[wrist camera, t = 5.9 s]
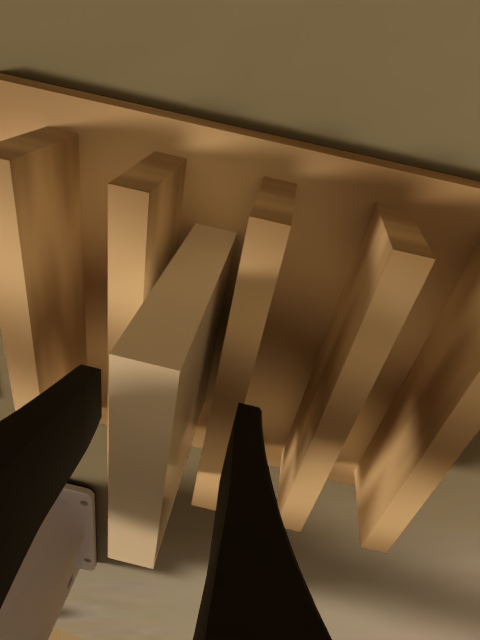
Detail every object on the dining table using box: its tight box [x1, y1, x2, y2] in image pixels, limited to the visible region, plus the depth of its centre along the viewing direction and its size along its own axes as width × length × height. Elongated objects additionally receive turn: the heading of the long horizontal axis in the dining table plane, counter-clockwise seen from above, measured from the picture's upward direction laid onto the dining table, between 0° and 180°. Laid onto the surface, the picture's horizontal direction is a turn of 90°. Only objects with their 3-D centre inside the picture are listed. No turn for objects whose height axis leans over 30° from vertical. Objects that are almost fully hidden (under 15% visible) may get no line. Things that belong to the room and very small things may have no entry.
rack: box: [0, 73, 480, 553], centre depth 15 cm, size 14×19×4 cm
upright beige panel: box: [108, 223, 237, 569], centre depth 13 cm, size 8×1×7 cm, turn 170°
